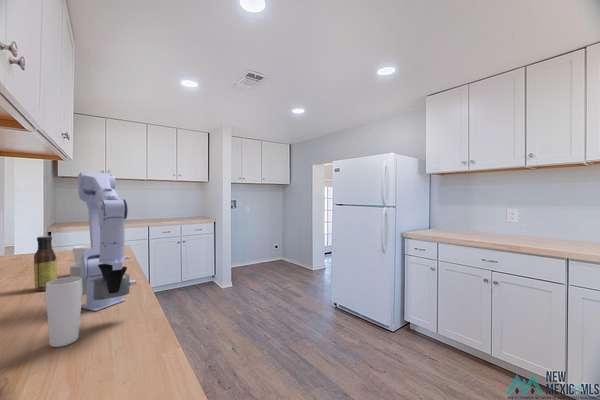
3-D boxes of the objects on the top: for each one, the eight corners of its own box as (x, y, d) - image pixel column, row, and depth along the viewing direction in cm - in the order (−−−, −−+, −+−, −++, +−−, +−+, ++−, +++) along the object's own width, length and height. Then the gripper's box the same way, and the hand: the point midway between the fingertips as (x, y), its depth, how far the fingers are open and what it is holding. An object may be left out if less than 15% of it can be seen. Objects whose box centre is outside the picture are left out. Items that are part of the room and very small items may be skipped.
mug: (65, 292, 99) (65, 264, 99) (94, 284, 108) (94, 259, 108) (80, 297, 94) (80, 268, 94) (109, 289, 103) (110, 263, 103)
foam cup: (81, 272, 124) (81, 244, 123) (103, 272, 125) (104, 244, 125) (67, 279, 114) (67, 248, 114) (92, 278, 116) (92, 248, 116)
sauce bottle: (61, 286, 105) (61, 235, 105) (47, 291, 99) (47, 237, 99) (44, 286, 105) (44, 235, 105) (28, 291, 99) (28, 237, 99)
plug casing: (133, 288, 82) (133, 272, 82) (137, 292, 79) (137, 275, 79) (92, 296, 75) (92, 278, 75) (94, 301, 72) (94, 282, 72)
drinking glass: (44, 341, 66) (45, 280, 66) (80, 332, 70) (80, 274, 70) (45, 353, 61) (46, 287, 61) (84, 342, 66) (84, 280, 66)
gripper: (135, 244, 74) (134, 293, 74) (123, 237, 84) (123, 281, 84) (103, 247, 69) (103, 300, 69) (95, 240, 79) (94, 286, 80)
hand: (112, 290), depth 76 cm, fingers closed on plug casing, 4 cm apart
